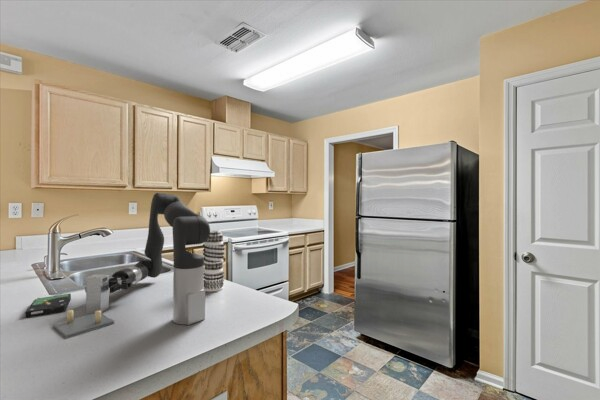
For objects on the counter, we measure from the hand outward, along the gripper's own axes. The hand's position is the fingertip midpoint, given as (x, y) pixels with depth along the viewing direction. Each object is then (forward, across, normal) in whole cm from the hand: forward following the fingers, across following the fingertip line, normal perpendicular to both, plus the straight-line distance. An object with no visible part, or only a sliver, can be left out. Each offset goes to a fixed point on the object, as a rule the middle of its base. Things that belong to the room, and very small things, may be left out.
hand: (98, 290), depth 101 cm
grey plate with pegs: (+12, +4, +7) cm, 14 cm away
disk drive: (-1, -18, +8) cm, 20 cm away
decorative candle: (-26, +32, +7) cm, 42 cm away
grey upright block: (0, 0, +7) cm, 7 cm away
